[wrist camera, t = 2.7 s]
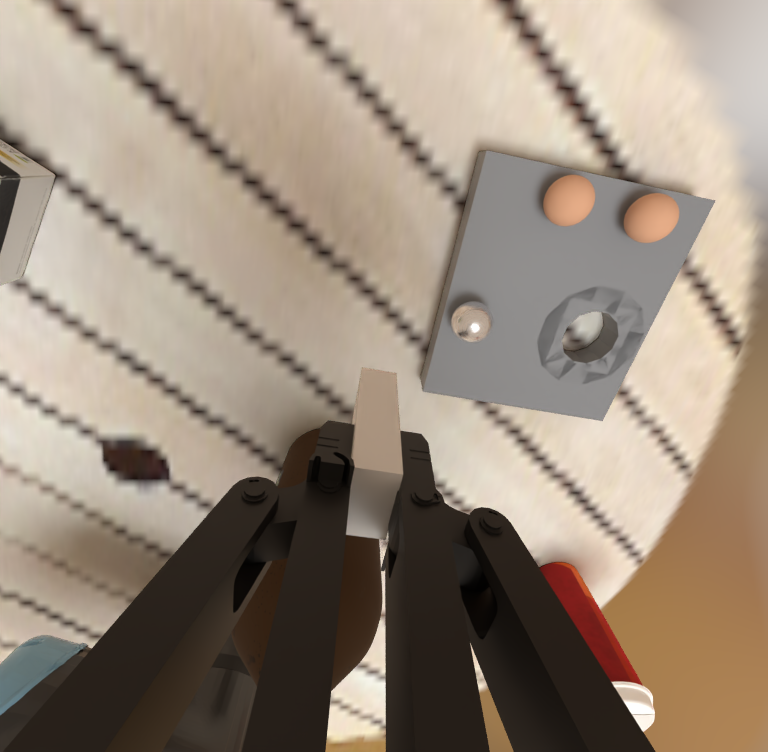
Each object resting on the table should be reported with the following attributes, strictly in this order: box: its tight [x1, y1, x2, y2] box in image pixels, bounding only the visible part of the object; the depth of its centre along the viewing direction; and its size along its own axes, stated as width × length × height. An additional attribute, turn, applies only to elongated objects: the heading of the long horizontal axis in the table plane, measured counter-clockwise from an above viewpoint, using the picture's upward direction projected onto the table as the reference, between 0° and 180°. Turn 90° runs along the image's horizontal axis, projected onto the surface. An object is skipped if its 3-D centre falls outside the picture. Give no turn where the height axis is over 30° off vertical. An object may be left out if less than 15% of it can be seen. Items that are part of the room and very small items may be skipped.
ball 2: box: [543, 175, 595, 226], centre depth 27 cm, size 3×3×3 cm
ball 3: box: [624, 193, 679, 243], centre depth 28 cm, size 3×3×3 cm
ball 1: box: [451, 301, 494, 343], centre depth 31 cm, size 3×3×3 cm
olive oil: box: [231, 429, 382, 691], centre depth 31 cm, size 11×11×25 cm
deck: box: [421, 150, 715, 421], centre depth 33 cm, size 17×19×2 cm
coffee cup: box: [540, 562, 655, 731], centre depth 44 cm, size 8×8×15 cm
